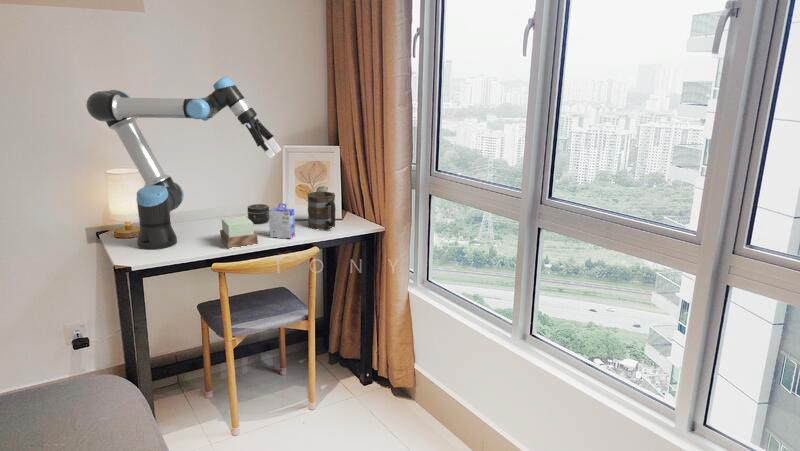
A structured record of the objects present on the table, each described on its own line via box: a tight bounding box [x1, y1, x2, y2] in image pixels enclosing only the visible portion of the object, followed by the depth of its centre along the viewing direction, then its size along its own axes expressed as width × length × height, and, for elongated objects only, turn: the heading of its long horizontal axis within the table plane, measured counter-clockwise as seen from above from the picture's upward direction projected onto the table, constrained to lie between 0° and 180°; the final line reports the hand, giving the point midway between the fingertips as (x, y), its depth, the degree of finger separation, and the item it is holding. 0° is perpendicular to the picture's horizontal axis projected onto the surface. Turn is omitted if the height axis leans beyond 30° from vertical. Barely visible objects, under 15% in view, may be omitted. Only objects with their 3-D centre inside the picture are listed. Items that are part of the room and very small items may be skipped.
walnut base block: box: [219, 229, 258, 249], centre depth 234 cm, size 12×13×5 cm
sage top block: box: [221, 215, 255, 237], centre depth 233 cm, size 10×12×5 cm
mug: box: [307, 191, 337, 230], centre depth 257 cm, size 20×14×15 cm
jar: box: [246, 203, 270, 225], centre depth 266 cm, size 10×10×8 cm
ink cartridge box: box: [268, 203, 296, 239], centre depth 242 cm, size 10×6×14 cm, turn 78°
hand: (276, 154), depth 236 cm, fingers open, 13 cm apart
